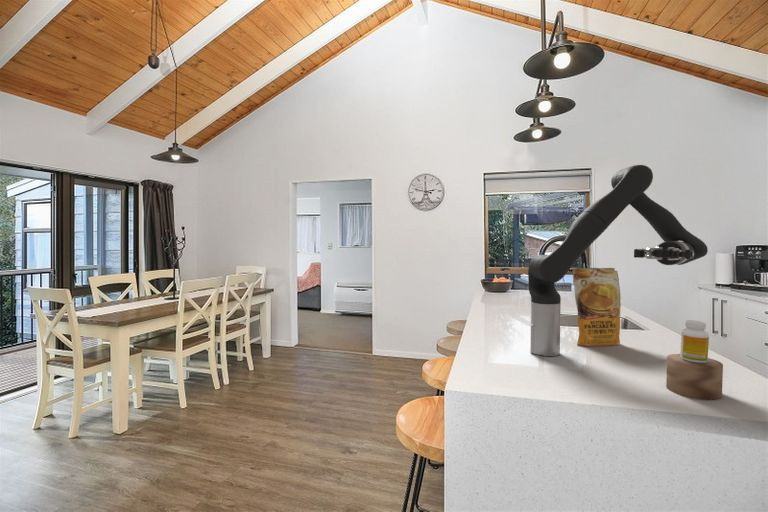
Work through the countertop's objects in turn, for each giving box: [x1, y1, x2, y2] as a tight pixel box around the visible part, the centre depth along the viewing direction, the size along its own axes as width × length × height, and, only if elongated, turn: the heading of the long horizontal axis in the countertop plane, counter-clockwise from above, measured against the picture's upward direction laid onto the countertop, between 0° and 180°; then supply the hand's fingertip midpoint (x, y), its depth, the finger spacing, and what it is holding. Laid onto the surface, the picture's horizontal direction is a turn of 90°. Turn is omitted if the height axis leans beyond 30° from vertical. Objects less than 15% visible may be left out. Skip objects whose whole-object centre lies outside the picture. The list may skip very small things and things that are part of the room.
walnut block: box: [665, 353, 724, 401], centre depth 98 cm, size 11×11×8 cm
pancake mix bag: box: [572, 267, 622, 347], centre depth 141 cm, size 7×19×28 cm, turn 94°
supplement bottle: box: [679, 320, 710, 363], centre depth 97 cm, size 5×5×10 cm
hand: (655, 254), depth 112 cm, fingers open, 8 cm apart
